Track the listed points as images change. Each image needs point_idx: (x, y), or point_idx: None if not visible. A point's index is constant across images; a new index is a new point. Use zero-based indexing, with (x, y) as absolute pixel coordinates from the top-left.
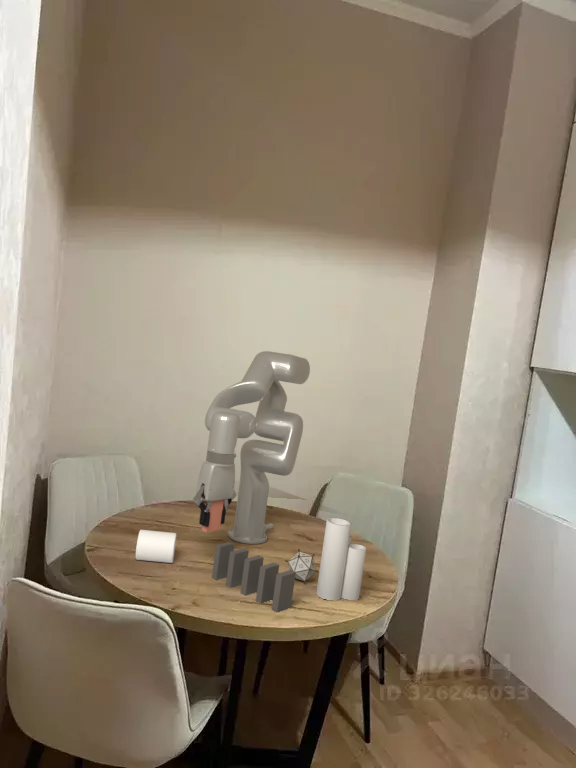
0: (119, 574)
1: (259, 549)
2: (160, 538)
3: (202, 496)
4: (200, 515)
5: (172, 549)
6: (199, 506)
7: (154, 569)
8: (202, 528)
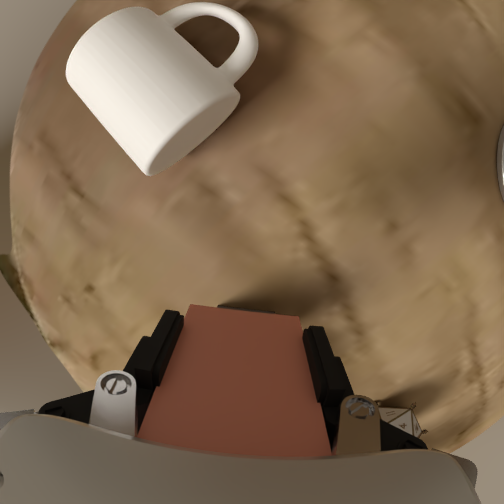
0: (35, 145)
1: (492, 244)
2: (111, 115)
3: (111, 440)
4: (130, 359)
5: (144, 173)
6: (75, 407)
7: (114, 160)
8: (188, 313)
